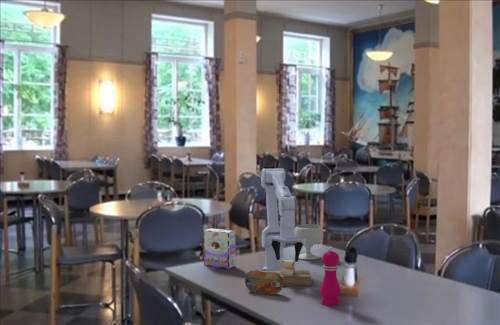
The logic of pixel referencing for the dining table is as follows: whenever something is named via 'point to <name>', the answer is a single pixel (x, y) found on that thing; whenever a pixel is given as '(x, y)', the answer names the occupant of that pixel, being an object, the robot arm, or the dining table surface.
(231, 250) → the candy box
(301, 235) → the chalice
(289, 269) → the birch cube
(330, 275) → the pepper mill
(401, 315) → the dining table surface
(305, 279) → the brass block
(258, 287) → the tin
